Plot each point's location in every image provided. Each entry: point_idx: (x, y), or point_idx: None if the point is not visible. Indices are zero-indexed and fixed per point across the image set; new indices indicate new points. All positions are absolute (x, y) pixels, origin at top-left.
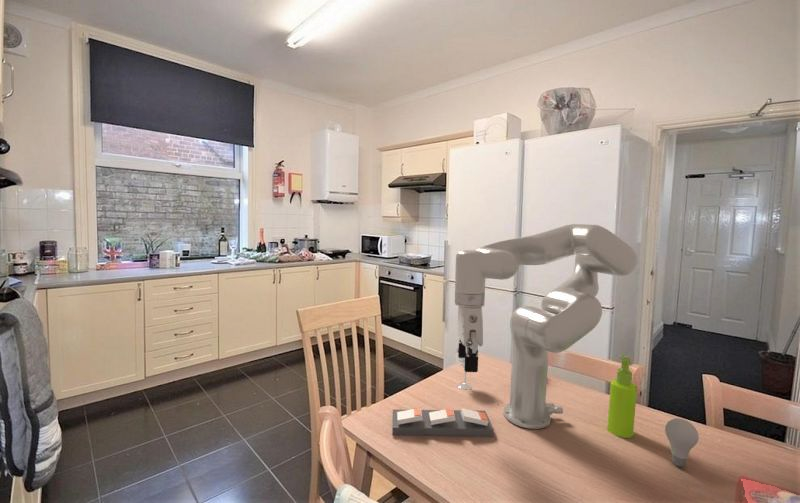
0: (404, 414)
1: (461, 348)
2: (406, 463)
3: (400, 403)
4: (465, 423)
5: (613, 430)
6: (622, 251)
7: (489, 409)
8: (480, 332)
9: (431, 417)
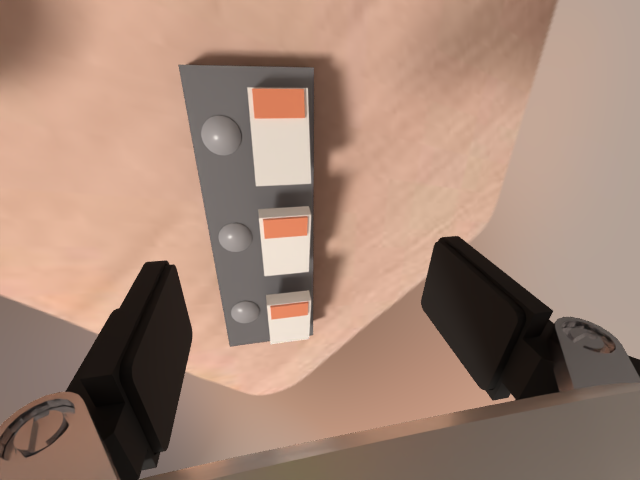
0: (288, 331)
1: (171, 394)
2: (399, 289)
3: None
4: None
5: None
6: None
7: (103, 19)
8: None
9: (293, 269)
